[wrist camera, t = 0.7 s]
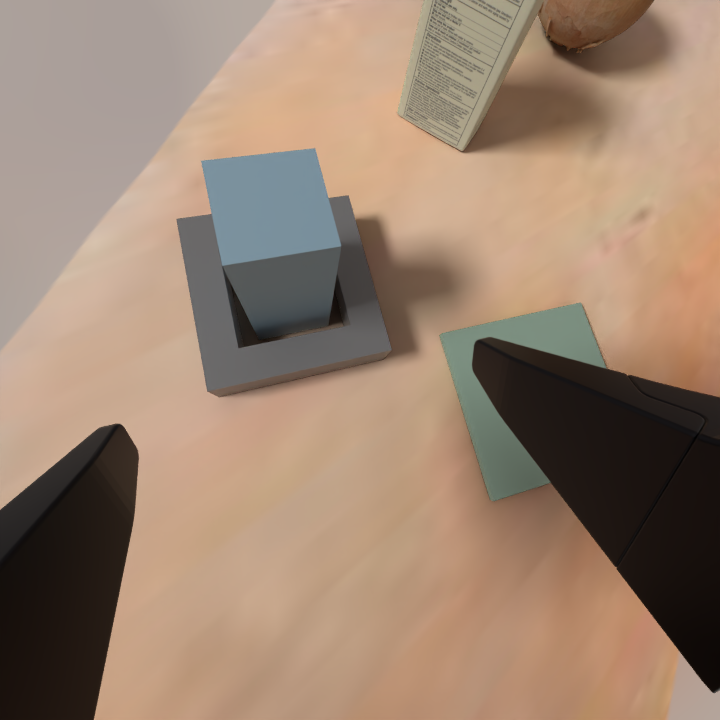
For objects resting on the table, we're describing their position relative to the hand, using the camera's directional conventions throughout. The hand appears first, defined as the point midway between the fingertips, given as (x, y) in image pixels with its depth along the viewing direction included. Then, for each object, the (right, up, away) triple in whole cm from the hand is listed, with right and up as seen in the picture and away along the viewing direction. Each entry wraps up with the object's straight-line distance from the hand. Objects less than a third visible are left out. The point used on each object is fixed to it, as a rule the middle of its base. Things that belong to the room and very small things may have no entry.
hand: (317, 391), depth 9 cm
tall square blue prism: (-4, +5, +14) cm, 16 cm away
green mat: (+13, -2, +15) cm, 20 cm away
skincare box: (+7, +20, +20) cm, 29 cm away
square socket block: (-4, +5, +14) cm, 16 cm away
